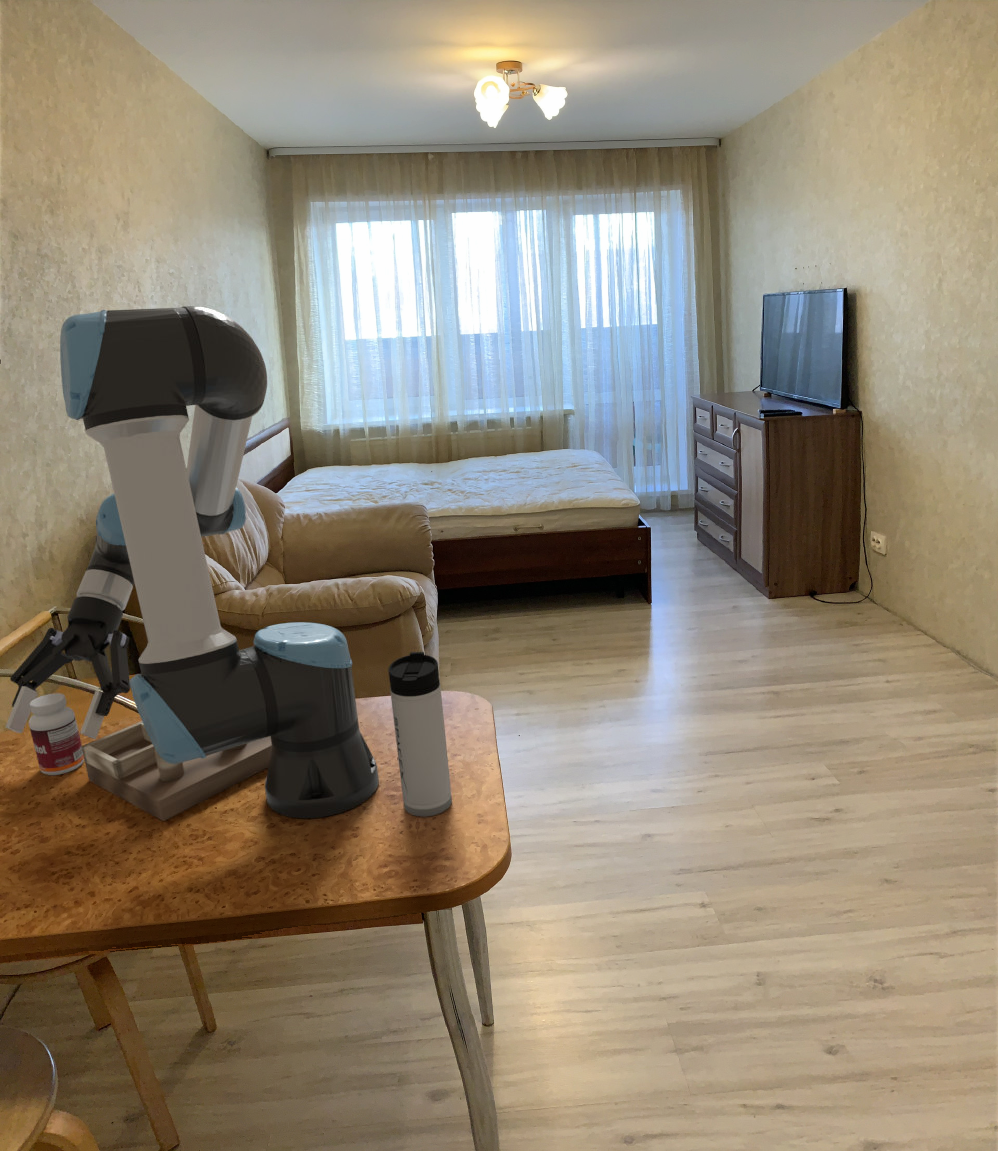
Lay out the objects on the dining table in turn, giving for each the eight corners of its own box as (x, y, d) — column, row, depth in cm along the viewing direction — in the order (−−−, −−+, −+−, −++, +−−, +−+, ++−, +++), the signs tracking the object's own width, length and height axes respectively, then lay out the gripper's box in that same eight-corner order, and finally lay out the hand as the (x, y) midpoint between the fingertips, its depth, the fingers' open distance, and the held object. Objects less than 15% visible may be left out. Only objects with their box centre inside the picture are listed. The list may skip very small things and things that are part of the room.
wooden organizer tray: (286, 757, 131) (279, 714, 129) (163, 821, 116) (153, 773, 114) (208, 726, 143) (201, 686, 141) (88, 780, 128) (79, 736, 126)
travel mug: (455, 790, 118) (441, 650, 112) (448, 817, 112) (433, 670, 106) (409, 791, 119) (393, 652, 113) (399, 818, 112) (382, 672, 107)
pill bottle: (35, 766, 134) (19, 700, 131) (78, 752, 137) (64, 687, 134) (46, 781, 129) (29, 712, 126) (90, 766, 133) (75, 698, 130)
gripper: (179, 616, 140) (135, 746, 131) (52, 612, 148) (1, 735, 138) (152, 595, 134) (104, 730, 125) (20, 592, 141) (-35, 719, 132)
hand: (50, 733), depth 131 cm, fingers open, 13 cm apart
